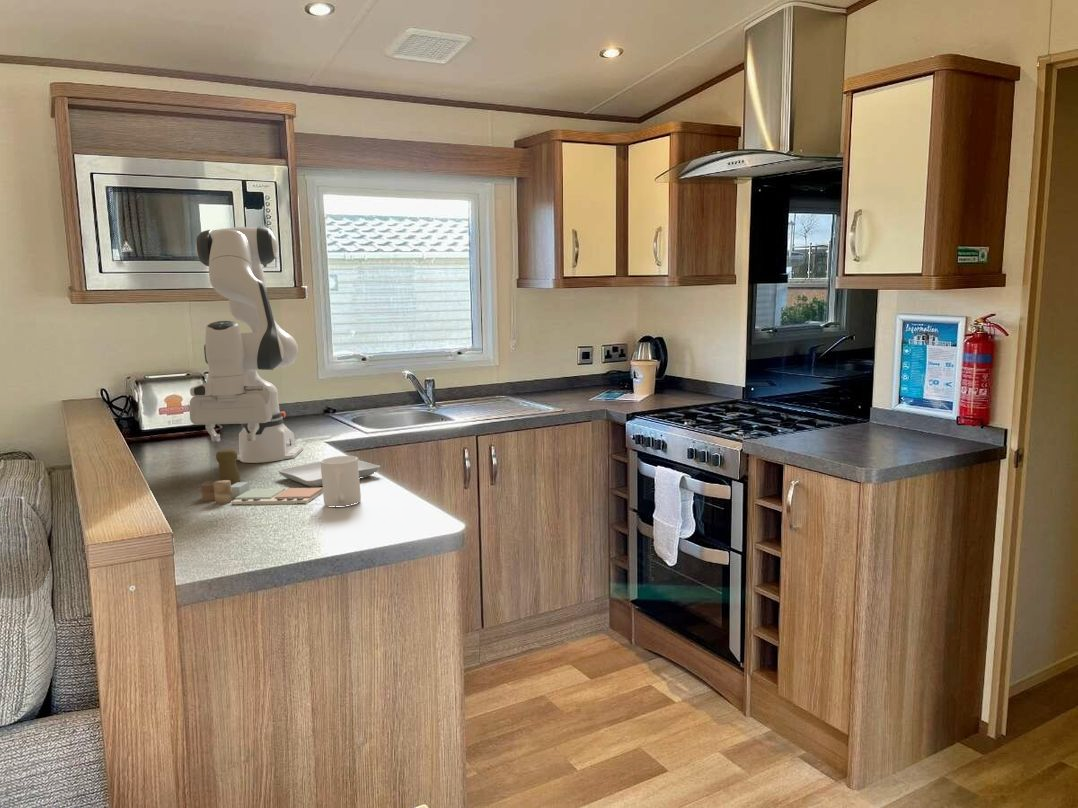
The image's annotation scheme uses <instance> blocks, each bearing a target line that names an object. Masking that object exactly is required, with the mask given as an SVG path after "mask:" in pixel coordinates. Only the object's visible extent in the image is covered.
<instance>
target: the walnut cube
mask: <svg viewBox="0 0 1078 808" xmlns="http://www.w3.org/2000/svg"><path fill="white" fill-rule="evenodd" d="M217 481H218V480H211V481H210V480H209V481H205V482H203V483H202V484H201V485H200V489H201V496H202V498H201V499H202V501H203V502H204V501H215V495H214V486H213V483H214V482H217ZM221 481H222V480H221Z"/></svg>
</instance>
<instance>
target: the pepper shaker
mask: <svg viewBox="0 0 1078 808" xmlns="http://www.w3.org/2000/svg"><path fill="white" fill-rule="evenodd" d="M237 456H238V452H237V451H236V449H235V448H225V449H220V450H218V451H217V452H216V454H215V457H216V458H215V459H216V461H217V463H218V480H217V481H221V480H230V481H231V485H233V484H235V483H237V482H241V478H240V474H239V469H238V465H237V461H238V460H237Z"/></svg>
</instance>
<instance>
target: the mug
mask: <svg viewBox="0 0 1078 808" xmlns="http://www.w3.org/2000/svg"><path fill="white" fill-rule="evenodd" d="M358 460H359V457H357V456H353V455H338V456H331V457H327V458H323V459H321V460H320V462H321V474H322V486H323V487H322V488H323V493H322V495H323V497H322V498H323V503H324V505H325V506H326V507H327V506H335V507H336V506H346V505H351V504H354V503H357V502H359V501H360V502H361V498H362V497H361V496H362V495H361V494H362V493H361V483H360V482H361V481H360V479H359V468H358ZM360 502H359V503H360Z"/></svg>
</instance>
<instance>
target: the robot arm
mask: <svg viewBox="0 0 1078 808" xmlns="http://www.w3.org/2000/svg"><path fill="white" fill-rule="evenodd" d="M195 252H196V255H197V258H198V259H199V262H200V263H201V264H203V265H204V266H205V267H208V275H209V276H208V277H209V283H210V285H211V287H212V288H213V290H214V291H215V292H216V293H217V294H219V295H220V296H222V297H223V298H224V299H225V298H226V299H228V302H229V310H230V312H229V313H231V315H232V317H233V318H235V319H236V320H237V321H239V322H242V323H244V324H246V325H247V326H248V327H249V328H250V329H251V332H241V330H240V327H239V324H238V322H235V321H233V320H219V321H214V322H210V323H209V324H207V325H206V327H205V337H204V338H205V344H204V345H203V352H204V359H205V360H204V361H205V363H206V364H207V365H208V374H207V378H208V381H206V382H202V383H201V384H198V385H195V386H193V387H190V388H189V394H190V395H191V398H190V401H189V420H190V422H191V423H192V424H193V425H195V426H202V425H205V430H206V431H207V433H208V434H209V435H210V438H211V442H212V443H218V442H220V441H221V433H217V431H216V430H215V428H216V425H229V424H230V425H231V424H233V425H237V424H241V428H242V429H241V431H240V432H239V433H238V450H239V451H238V454H237V460H236V461H240V462H242V463H246V464H247V463H250V464H254V463H255V464H259V463H260V464H261V463H271V462H277V461H282V460H287V459H295V458H296V457H297V456H298V455H299V454H300V453H301V452H302V451H303V450H304V447H303V446H302V445H301V446H300V445H296V439H295V435H294V432H293V431H292V430H290V429H289V428H288V427H287V425H285V424H284V419H285V418H286V415H287V414H286V412H285V411H280V404H279V403H280V402H279V391H278V389H277V387H276V386H275V385H274V384H273V383H271V382H269V380H265V379H263V378H262V377H261V376H260V375H259V373H258V370H263V371H264V370H265V371H267V370H268V371H273V370H275V369H281V368H284V367H289V366H291V365H293V364H294V363H295V361H296V360H297V359H298V355H299V347H298V346H299V345H298V343H297V341H296V339H295V338H294V337H293V335H291V334H289V333H288V332H286V330H284V329H282V328H281V326H280V325H279V324H278V323H277V322H276V320H275V317H274V313H273V308H272V304H271V300H270V297H269V294H268V291H267V283H266V278H265V272H264V269H263V267H264V268H266V267H267V266H268V265H269V264H271V263H272V262H273V261H274V260H275V259H276V258H277V252H278V241H277V238H276V236H275V235H274V232H273V231H272V230H271V229H270V228H268V227H264V226H257V227H253V226H251V227H249V226H234V227H229V228H220V229H207V230H203V231H201V232H200V233H199V234H198V235H197V237H196V241H195ZM283 418H284V419H283Z"/></svg>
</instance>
